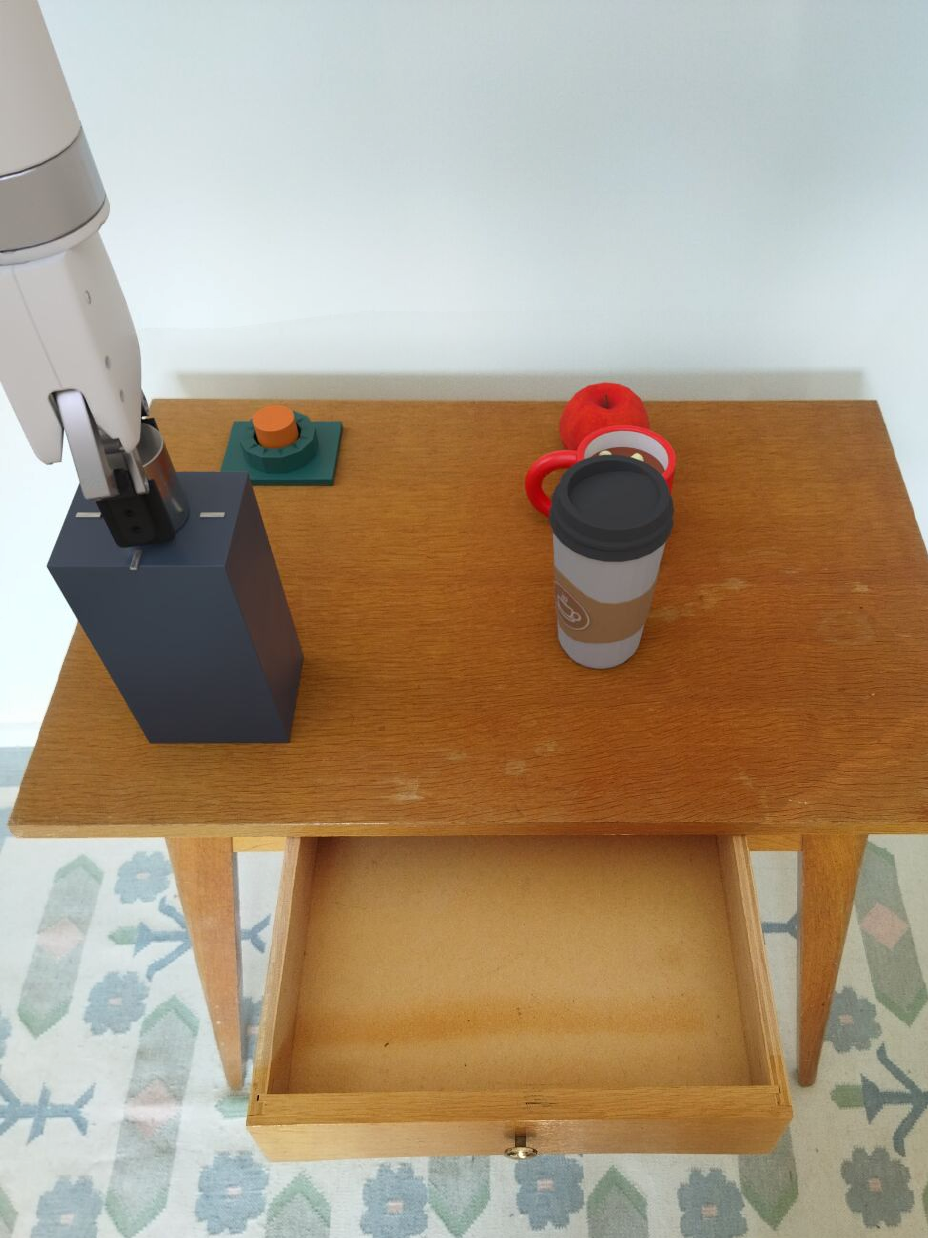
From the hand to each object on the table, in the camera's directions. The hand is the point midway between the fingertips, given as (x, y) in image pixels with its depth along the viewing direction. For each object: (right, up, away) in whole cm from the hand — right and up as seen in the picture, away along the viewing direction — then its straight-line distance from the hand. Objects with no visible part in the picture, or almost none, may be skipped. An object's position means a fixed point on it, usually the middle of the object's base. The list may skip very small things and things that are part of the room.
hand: (146, 507), depth 55 cm
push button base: (0, +11, +31) cm, 33 cm away
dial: (0, 0, +1) cm, 1 cm away
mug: (+28, +4, +26) cm, 38 cm away
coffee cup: (+27, -6, +19) cm, 34 cm away
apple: (+29, +11, +31) cm, 44 cm away
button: (0, +13, +29) cm, 32 cm away
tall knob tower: (0, -11, +15) cm, 19 cm away
